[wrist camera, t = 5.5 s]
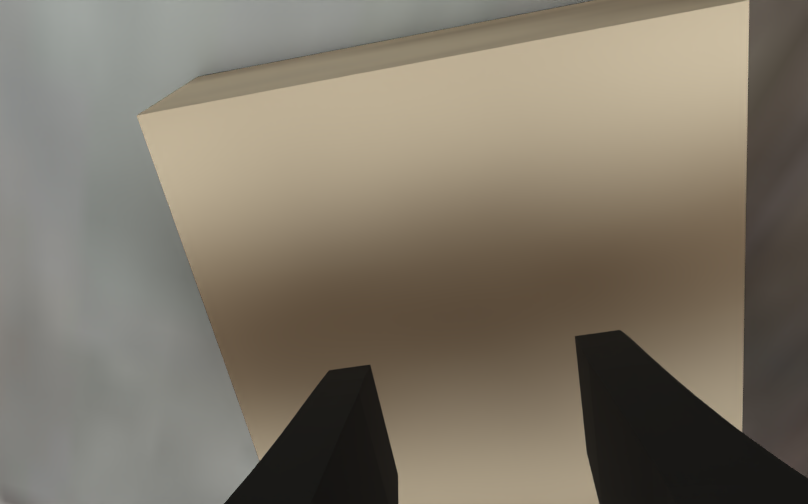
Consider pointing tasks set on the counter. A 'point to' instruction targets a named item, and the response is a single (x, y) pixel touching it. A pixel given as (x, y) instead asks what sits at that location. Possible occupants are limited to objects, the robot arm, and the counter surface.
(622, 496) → the robot arm
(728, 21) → the maple block
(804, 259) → the counter surface
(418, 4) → the counter surface
